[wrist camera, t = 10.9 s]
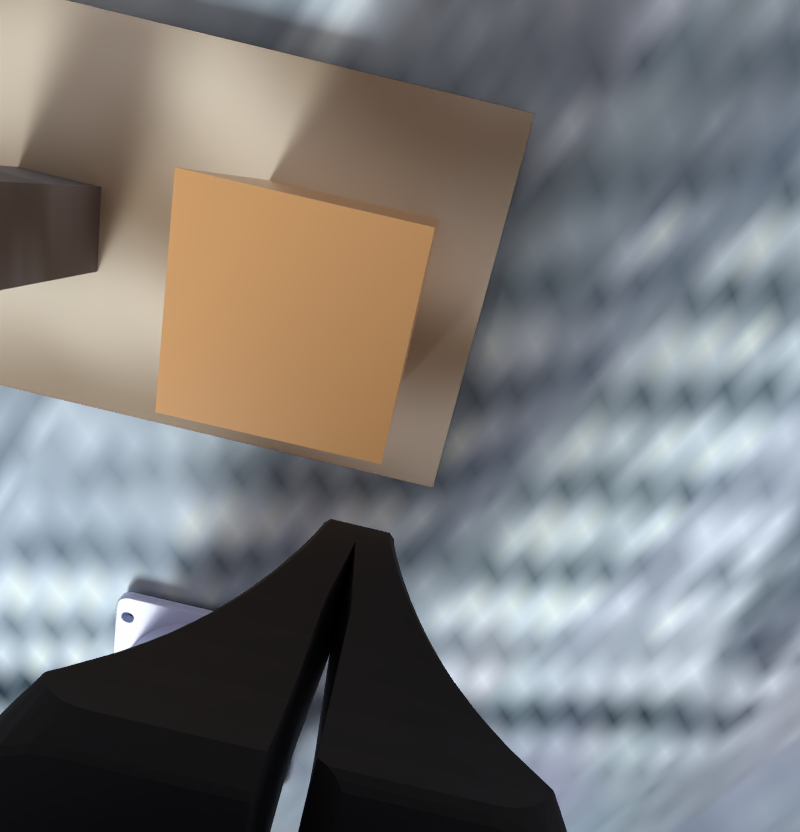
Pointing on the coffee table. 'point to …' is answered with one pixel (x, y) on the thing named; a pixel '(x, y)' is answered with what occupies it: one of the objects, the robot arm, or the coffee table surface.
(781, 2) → the coffee table surface
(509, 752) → the robot arm
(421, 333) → the post board
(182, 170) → the orange rectangular block
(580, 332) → the coffee table surface
